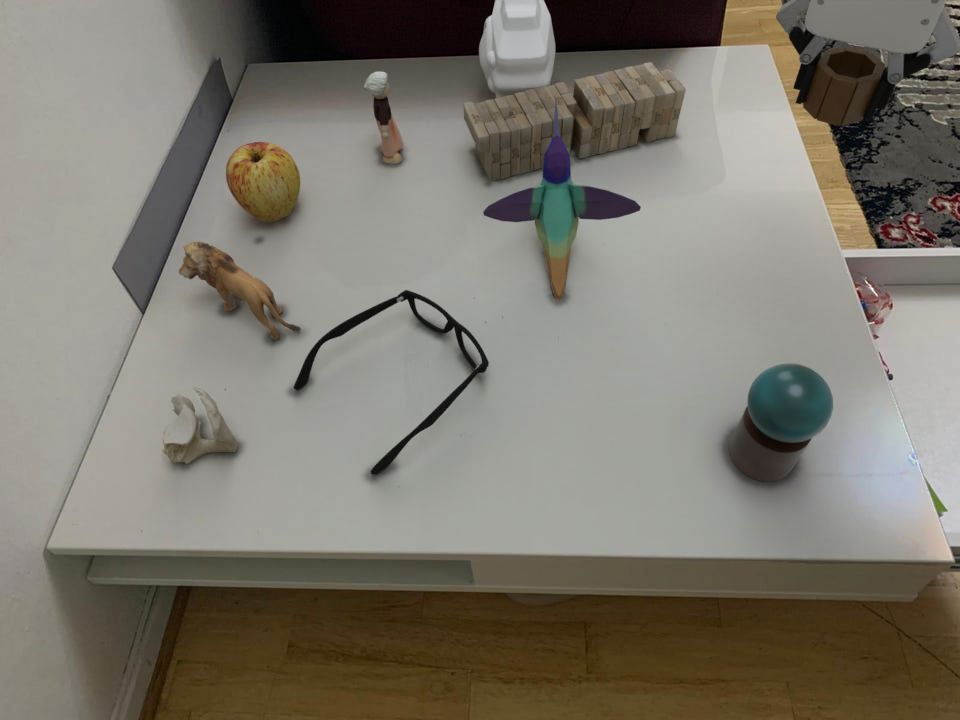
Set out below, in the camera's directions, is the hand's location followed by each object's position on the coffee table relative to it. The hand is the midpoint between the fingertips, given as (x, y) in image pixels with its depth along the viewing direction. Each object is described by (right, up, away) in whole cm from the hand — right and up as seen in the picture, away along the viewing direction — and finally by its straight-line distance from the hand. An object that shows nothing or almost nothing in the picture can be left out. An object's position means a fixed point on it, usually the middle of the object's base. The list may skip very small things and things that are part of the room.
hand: (836, 102), depth 69 cm
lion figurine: (-62, -19, +19) cm, 68 cm away
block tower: (-21, +6, +34) cm, 41 cm away
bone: (-64, -34, +8) cm, 73 cm away
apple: (-62, -4, +29) cm, 69 cm away
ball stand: (-6, -34, +4) cm, 35 cm away
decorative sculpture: (-25, -10, +23) cm, 35 cm away
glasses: (-43, -27, +12) cm, 53 cm away
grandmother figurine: (-47, +5, +35) cm, 59 cm away
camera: (-28, +15, +41) cm, 52 cm away
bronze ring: (0, 0, 0) cm, 1 cm away
